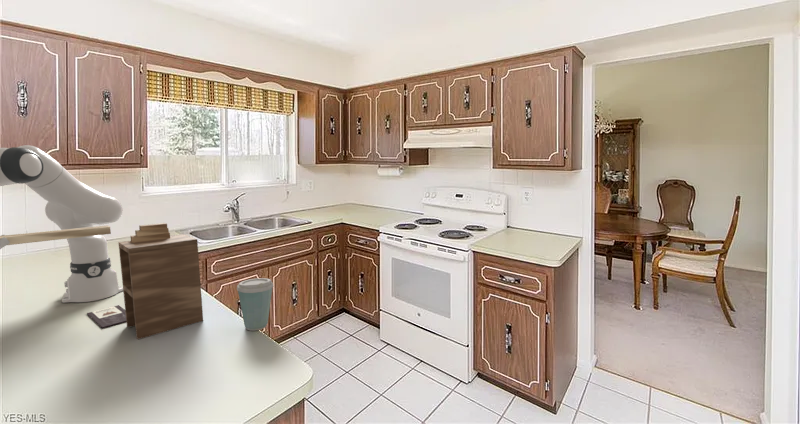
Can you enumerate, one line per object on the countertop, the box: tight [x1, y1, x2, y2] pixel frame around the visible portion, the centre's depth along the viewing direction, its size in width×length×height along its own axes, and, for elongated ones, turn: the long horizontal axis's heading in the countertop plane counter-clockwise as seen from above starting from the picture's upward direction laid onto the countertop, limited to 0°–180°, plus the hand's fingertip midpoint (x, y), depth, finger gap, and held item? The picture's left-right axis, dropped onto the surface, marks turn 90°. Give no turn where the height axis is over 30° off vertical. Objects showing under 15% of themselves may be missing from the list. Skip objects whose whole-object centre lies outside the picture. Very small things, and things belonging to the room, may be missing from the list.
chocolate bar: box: [86, 304, 127, 330], centre depth 126 cm, size 9×1×18 cm
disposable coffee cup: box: [236, 277, 275, 332], centre depth 118 cm, size 11×11×15 cm
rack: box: [117, 222, 204, 340], centre depth 119 cm, size 13×18×32 cm
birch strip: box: [0, 224, 111, 246], centre depth 99 cm, size 4×24×2 cm, turn 137°
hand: (7, 238), depth 93 cm, fingers closed on birch strip, 3 cm apart
